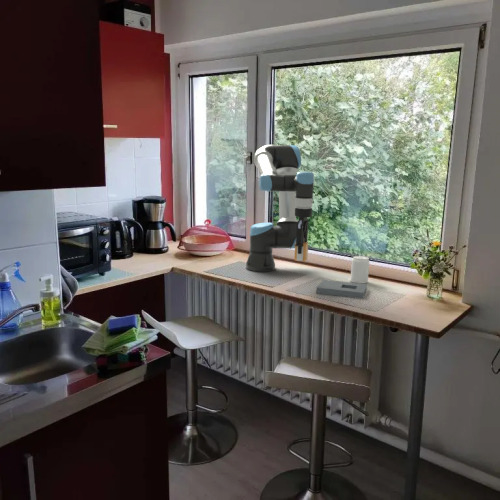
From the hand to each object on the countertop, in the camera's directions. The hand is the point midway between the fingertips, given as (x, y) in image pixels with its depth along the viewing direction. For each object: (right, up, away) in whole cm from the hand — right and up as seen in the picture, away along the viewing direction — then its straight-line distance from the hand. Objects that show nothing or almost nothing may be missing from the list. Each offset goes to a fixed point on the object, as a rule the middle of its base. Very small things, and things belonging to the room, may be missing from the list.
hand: (300, 259), depth 224 cm
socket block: (+18, -14, -4) cm, 23 cm away
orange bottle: (0, 0, 0) cm, 0 cm away
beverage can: (+29, -11, +12) cm, 33 cm away
